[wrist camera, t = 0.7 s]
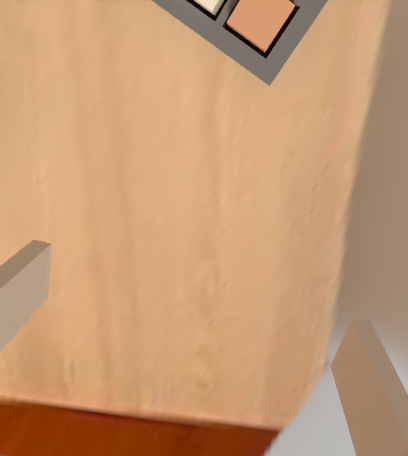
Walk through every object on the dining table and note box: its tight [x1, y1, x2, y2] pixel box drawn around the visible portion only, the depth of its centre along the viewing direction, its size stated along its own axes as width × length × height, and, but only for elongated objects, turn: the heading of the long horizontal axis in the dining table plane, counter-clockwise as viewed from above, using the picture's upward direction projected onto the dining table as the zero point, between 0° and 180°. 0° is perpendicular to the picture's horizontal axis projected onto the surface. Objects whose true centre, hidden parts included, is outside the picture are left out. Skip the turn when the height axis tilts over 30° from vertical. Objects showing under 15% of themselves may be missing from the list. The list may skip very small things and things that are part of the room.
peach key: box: [227, 0, 295, 53], centre depth 33 cm, size 4×4×2 cm
